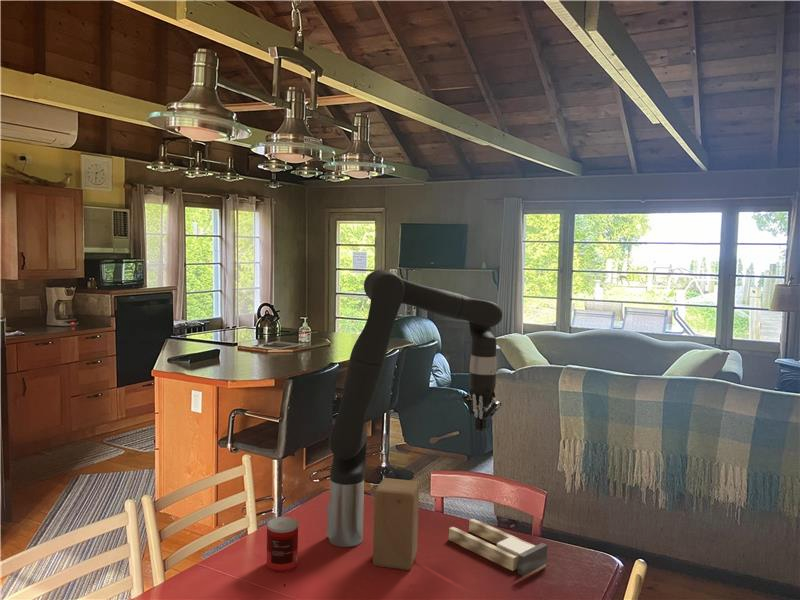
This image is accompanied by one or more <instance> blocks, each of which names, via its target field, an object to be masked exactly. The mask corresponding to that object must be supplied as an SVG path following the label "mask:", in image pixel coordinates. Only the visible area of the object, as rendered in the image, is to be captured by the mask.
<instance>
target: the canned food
mask: <svg viewBox="0 0 800 600" xmlns="http://www.w3.org/2000/svg"><path fill="white" fill-rule="evenodd" d="M266 524H267V525H266V566H267V568H268V569H269V570H270V571H271V572H274V573H277V572H278V573H281V574H282V573H288V572H289V573H290V572H292V571H293V570H294V569H295V568H297V565H298V555H299V554H298V553H299V551H298V550H299V545H298V544H299V543H298V542H299V523H298V520H296V519H295V518H292V517H288V516H279V517H275V518H271V519H270V520H269V521H268V522H267V523H266ZM278 573H277V574H278Z"/></svg>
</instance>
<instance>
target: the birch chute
mask: <svg viewBox="0 0 800 600" xmlns="http://www.w3.org/2000/svg"><path fill="white" fill-rule="evenodd" d="M468 532H469V533H468ZM468 532H466V531H465V530H461V529H460V528H457V527H455V526H451V527H449V528H448V541H450V542H453V543H454V544H457V545H459V546H460V547H463V548H465V550H466V549H467V550H468V551H471V552H473V553H475V554H477V555H479V556H481V557H483V558H484V559H487V560H489V561H491V562H493V563H495V564H497V565H499V566H502V567H503V568H506V569H507V570H510V571H512V572H514V571H516V570H517V574H518V575H520V579H525V578H527V577H528V576H530V575H533V574H534V573H536V572H538V571H540V570H542V569H543V568H545V567H546V566H547V559H548V556H547V554H548V544H546V543H544V542H540V543H539V544H537V545H535V544H533V543H531V542H528V541H526V540H523V539H521V538H518V537H516V536H514V535H512V534H510V533H508V532H505V531H503V530H501V529H498V528H496V527H494V526H492V525H489V524H487V523H484V522H482V521H479V520H477V519H475V518H470V519H469V520H468ZM470 533H472V534H470ZM473 534H474V535H476V536H474V535H473ZM477 536H478V537H477ZM479 537H481V538H483V539H481V538H479ZM509 537H513V538H515V539H518V540H520V541H522V542H525V543H527V544H529V545H531V546H534V547H533V548H531V549H529V550H527V551H525V552H523V553H520V554H518V568H517V556H516V555H514V554H511V553H509V552H507V551H505V550H503V549H501V548H498V547H497V543H498V542H500V541H503V540H505V539H507V538H509ZM484 539H485V540H487V541H489V542H487V541H485V540H484ZM490 542H491V543H490ZM492 543H493V544H492ZM494 544H496V545H494Z"/></svg>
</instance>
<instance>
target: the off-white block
mask: <svg viewBox="0 0 800 600" xmlns="http://www.w3.org/2000/svg"><path fill="white" fill-rule="evenodd" d="M496 547H498V548H501V549H503V550H505V551H507V552H509V553H511V554H514V555H516V556H517V569H518V554H520V553H523V552H525V551H527V550H529V549H531V548H533V547H534V546H531V545H529V544H527V543H525V542H522V541H520V540H518V539H515V538H513V537H509V538H507V539H505V540H503V541H500V542H498V543H497V544H496Z"/></svg>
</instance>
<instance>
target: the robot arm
mask: <svg viewBox="0 0 800 600" xmlns="http://www.w3.org/2000/svg"><path fill="white" fill-rule="evenodd" d="M363 290H364V292H365V295H366V296H367V298H368V299H370V304H369V309H368V314H367V318H366V322H365V325H364V327H363V329H362V330H361V332H360V334H359V336H358V337H357V339H356V341H355V342H354V345H353V347H352V350H351V353H350V356H349V360H348V364H347V369H346V373H345V378H344V383H343V390H342V396H341V399H340V404H339V405H340V406H339V409H338V411H337V416H336V418H335V421H334V423H333V426H332V428H331V431H330V434H329V437H328V446H329V450H330V452H331V454H333V455H332V456H333V457H332V463H331V468H330V473H329V474H330V475H329V477H330V479H329V502H328V503H327V524H326V525H327V528H326V529H327V532H326V533H327V535H326V536H327V538H328V540H329V543H330V544H331V545H333V546H336V547H341V548H350V547H355V546H358V545H360V544H361V543H362V542H363V540H364V539H363V535H364V534H363V533H364V528H363V527H364V498H365V493H364V492H365V471H366V464H367V449H368V448H367V447H368V444H367V443H368V436H367V435H368V434H367V430H366V428H365V420H366V417H367V413H368V410H369V408H370V405H371V403H372V400H373V399H374V396H375V394H376V392H377V388H378V386H379V383H380V379H381V378H382V377H381V376H382V372H383V369H384V366H385V361H386V356H387V352H388V348H389V344H390V342H391V341H390V340H391V335H392V332H393V327H394V324H395V321H396V319H397V315H398V314H399V313H398V312H399V311H400V307H401V304H403V305H407V306H412V307H415V308H419V309H420V310H423V311H426V312H429V313H432V314H435V315H439V316H442V317H445V318H449V319H455V320H458V321H459V320H460V321H466V322H468V326H469V332H470V336H471V347H470V348H471V350H470V351H471V352H470V360H469V380H468V381H469V382H468V384H469V385H468V386H469V387H470V388H469V390H468V393H467V394H464V395H463V396H462V399H463V400H464V403H465V405H466V407H467V410H468V411H469V413H470V415H473V416H474V417H475V425H474V426H475V430H476V431H477V432H484V431H485V430H486V429H487V419H488V418H492V417H493V416H494V415H495V413H496V412H497V411H498V410H499V409H500V408H501V406H502V402H501V401H498V400H497V399H496V393H495V388H496V386H497V365H498V364H497V363H498V362H497V338H496V336H494V335H493V332H492V327H493V328H494V327H495V326H497V325H498V324H500V323H501V321H502V319H503V311H502V308H501V307H500V306H499V305H498V304H497V303H495V302H493V301H488V300H483V299H478V298H472V297H469V296H466V295H464V294H461V293H457V292H454V291H449V290H445V289H440V288H436V287H431V286H426V285H422V284H418V283H415V282H411V281H409V280H407V279H403V278H401V277H400V276H399V275H397V274H396V273H394V272H391V271H389V270H386V269H377V270H376V269H375V270H374V271H372V272H370V273H368V275H367V276H366V278H365V279H364V282H363Z"/></svg>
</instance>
